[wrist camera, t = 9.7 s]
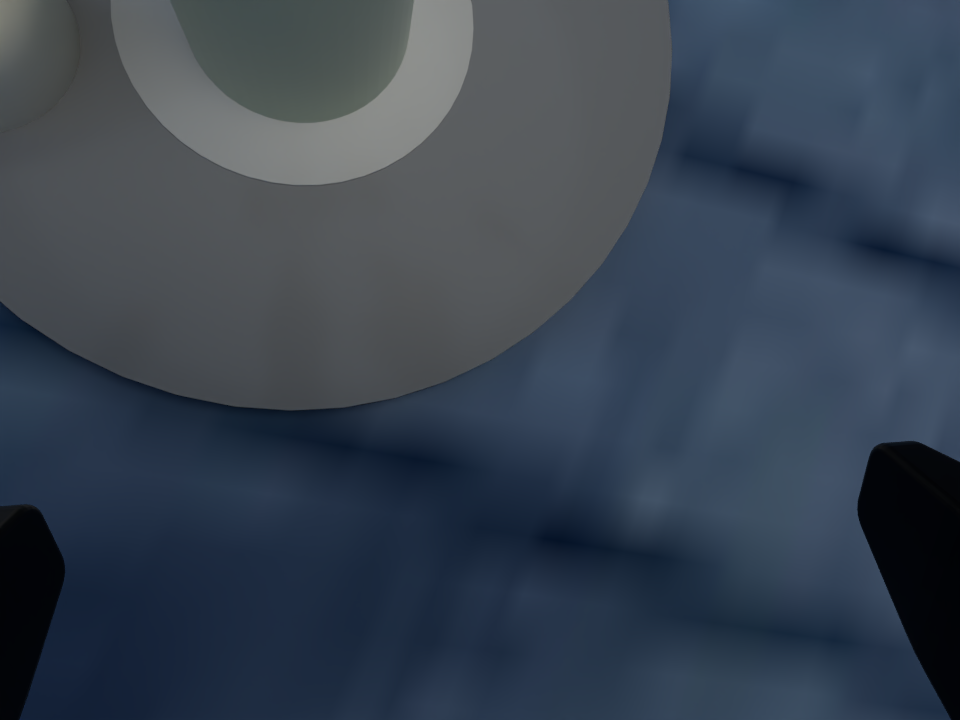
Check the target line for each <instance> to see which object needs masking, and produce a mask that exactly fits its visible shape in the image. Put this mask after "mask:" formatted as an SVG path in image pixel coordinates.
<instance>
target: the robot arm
mask: <svg viewBox="0 0 960 720" xmlns="http://www.w3.org/2000/svg"><path fill="white" fill-rule="evenodd" d="M857 510H858V517H859V521H860V524H861V527H862V529H863V532H864V534H865V537H866V539H867V541H868V544H869V546H870V549H871V551H872V553H873V556H874V558H875V560H876V563H877V565H878V568H879V570H880V572H881V575H882V577H883V580H884V582H885V584H886V587H887V589H888V592H889V594H890V596H891V599H892V601H893V603H894V606H895V608H896V611H897V613H898V615H899V618H900V620H901V623H902V625H903V627H904V630H905V632H906V634H907V636H908V639H909V641H910V643H911V645H912V647H913V650H914V652H915V654H916V656H917V657H918V659H919V661H920V663H921V665H922V667H923V669H924V671H925V673H926V675H927V677H928V678H929V680H930V682H931V684H932V686H933V688H934V689H935V691H936V693H937V695H938V697H939V698H940V700H941V702H942V704H943V706H944V708H945V709H946V711H947V713H948V715H949V717H950V718H951V720H960V462H959V461H957V460H955V459H953V458H951V457H949V456H946V455H944V454H942V453H940V452H938V451H936V450H934V449H932V448H930V447H928V446H926V445H924V444H922V443H919V442H915V441H904V442H890V443H881V444H879V445H876V446H875V447H874V448H873V450H872V451H871V453H870V456H869V460H868V463H867V467H866V471H865V475H864V479H863V483H862V487H861V491H860V494H859V498H858V508H857ZM64 576H65V565H64V560H63V557H62V554H61V552H60V550H59V548H58V546H57V544H56V542H55V540H54V538H53V536H52V534H51V531H50V529H49V527H48V525H47V523H46V521H45V519H44V517H43V515H42V513H41V512H40V510H38V509H37V508H36V507H34V506H32V505H27V504H25V505H11V506H0V720H19V718H20V716H21V713H22V710H23V707H24V705H25V702H26V699H27V696H28V693H29V690H30V687H31V684H32V681H33V677H34V674H35V671H36V668H37V665H38V662H39V658H40V655H41V652H42V649H43V646H44V643H45V639H46V636H47V633H48V630H49V627H50V624H51V620H52V617H53V614H54V611H55V608H56V605H57V601H58V598H59V595H60V592H61V589H62V586H63V582H64Z"/></svg>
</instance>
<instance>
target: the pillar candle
mask: <svg viewBox="0 0 960 720" xmlns="http://www.w3.org/2000/svg"><path fill="white" fill-rule="evenodd" d="M170 2H171V4H172V7H173V9H174V11H175V14H176V16H177V18H178V20H179V23H180V25H181V27H182V30H183V32H184V34H185V36H186V39H187V41H188V43H189V45H190V48H191V50H192V52H193V54H194V56H195V58H196V60H197V62H198V63H199V65H200V66H201V68H202V69H203V71H204V72H205V74H206V75H207V76H208V77H209V79H210V80H211V81H212V82H213V83H214V84H215V86H217V87H218V88H219V89H220V90H221V91H222V92H223V93H224V94H226V95H227V96H228V97H229V98H231V99H232V100H234V101H235V102H237V103H238V104H239V105H241V106H243V107H245V108H247V109H249V110H251V111H253V112H255V113H258V114H260V115H263V116H265V117H268V118H272V119H276V120H280V121H286V122H295V123H315V122H323V121H329V120H333V119H336V118H340V117H343V116H345V115H348V114H350V113H353V112H355V111H357V110H359V109H360V108H362V107H364V106H365V105H367V104H368V103H370V102H371V101H372V100H374V99H375V98H376V97H377V96H378V95H379V94H380V93H381V92H382V91H383V90H384V89H385V88H386V87H387V86H388V85H389V83H390V82H391V81H392V79H393V78H394V76H395V75H396V73H397V71H398V69H399V67H400V66H401V64H402V61H403V58H404V55H405V53H406V49H407V44H408V39H409V33H410V26H411V19H412V12H413V5H414V0H170Z"/></svg>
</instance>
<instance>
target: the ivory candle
mask: <svg viewBox="0 0 960 720" xmlns="http://www.w3.org/2000/svg"><path fill="white" fill-rule="evenodd" d="M79 57H80V35H79V29H78V25H77V22H76V19H75V16H74V14H73V12H72V10H71V7H70V5H69V4H68V2H67V1H66V0H0V132H4V131H9V130H13V129H16V128H19V127H21V126H24V125H26V124H28V123H30V122H32V121H34V120H36V119H38V118H39V117H41V116H42V115H44V114H45V113H47V112H48V111H49V110H50V109H51V108H52V107H53V106H55V105H56V104H57V103H58V101H59V100H60V99H61V98H62V97H63V96H64V94H65V93H66V91H67V90H68V88H69V86H70V85H71V83H72V81H73V78H74V76H75V74H76V71H77V67H78V63H79Z"/></svg>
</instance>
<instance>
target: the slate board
mask: <svg viewBox="0 0 960 720" xmlns="http://www.w3.org/2000/svg"><path fill="white" fill-rule="evenodd" d="M66 1H67V2H68V4H69V5H70V7H71V10H72V12H73V14H74V16H75V19H76V22H77V25H78V29H79V35H80V57H79V63H78V67H77V71H76V74H75V76H74V78H73V81H72V83H71V85H70V86H69V88H68V90H67V91H66V93H65V94H64V96H63V97H62V98H61V99H60V100H59V101H58V103H57V104H56V105H55V106H53V107H52V108H51V109H50V110H49V111H48V112H47V113H45V114H44V115H42V116H41V117H39V118H38V119H36V120H34V121H32V122H30V123H28V124H26V125H24V126H21V127H19V128H16V129H13V130H9V131H4V132H0V301H1V302H2V303H3V304H4V305H5V306H6V307H7V308H9V309H10V310H11V311H12V312H13V313H14V314H16V315H17V316H18V317H19V318H20V319H22V320H23V321H25V322H26V323H28V324H29V325H31V326H32V327H34V328H35V329H37V330H38V331H40V332H41V333H43V334H45V335H46V336H48V337H49V338H51V339H52V340H54V341H55V342H57V343H58V344H60V345H61V346H63V347H64V348H66V349H67V350H69V351H71V352H73V353H75V354H77V355H79V356H81V357H83V358H85V359H87V360H89V361H91V362H93V363H95V364H97V365H100V366H102V367H104V368H106V369H108V370H110V371H112V372H114V373H116V374H118V375H120V376H122V377H125V378H128V379H131V380H134V381H137V382H140V383H143V384H146V385H149V386H152V387H155V388H158V389H161V390H164V391H167V392H170V393H173V394H176V395H180V396H185V397H190V398H195V399H200V400H205V401H209V402H214V403H219V404H224V405H229V406H235V407H246V408H260V409H274V410H288V411H301V410H318V409H336V408H347V407H353V406H358V405H363V404H369V403H374V402H379V401H385V400H390V399H395V398H398V397H401V396H404V395H407V394H410V393H413V392H416V391H419V390H422V389H425V388H428V387H432V386H435V385H438V384H441V383H443V382H445V381H448V380H450V379H452V378H454V377H456V376H458V375H460V374H462V373H464V372H466V371H468V370H471V369H473V368H475V367H477V366H479V365H481V364H483V363H485V362H487V361H489V360H491V359H493V358H495V357H496V356H498V355H499V354H501V353H502V352H504V351H505V350H507V349H508V348H510V347H511V346H513V345H515V344H516V343H518V342H519V341H521V340H522V339H524V338H525V337H527V336H528V335H530V334H531V333H533V332H534V331H535V330H537V329H538V328H539V327H540V326H541V325H542V324H543V323H545V322H546V321H547V320H548V319H549V318H550V317H551V316H553V315H554V314H555V313H556V312H557V311H558V310H560V309H561V308H562V307H563V306H564V305H565V304H566V303H568V302H569V301H570V300H571V299H572V298H573V297H574V295H575V294H576V293H577V292H578V291H579V290H580V289H581V287H582V286H583V285H584V284H585V283H586V282H587V281H588V279H589V278H590V277H591V276H592V275H593V274H594V273H595V271H596V270H597V269H598V268H599V267H600V266H601V265H602V263H603V262H604V260H605V259H606V257H607V256H608V254H609V253H610V251H611V250H612V248H613V247H614V245H615V243H616V242H617V240H618V239H619V237H620V236H621V234H622V233H623V231H624V230H625V228H626V227H627V225H628V223H629V221H630V219H631V217H632V215H633V213H634V211H635V209H636V207H637V205H638V202H639V200H640V198H641V196H642V194H643V192H644V190H645V188H646V186H647V184H648V181H649V178H650V175H651V171H652V168H653V165H654V162H655V159H656V156H657V153H658V150H659V147H660V144H661V140H662V135H663V130H664V124H665V119H666V113H667V108H668V102H669V97H670V81H671V60H672V43H671V30H670V18H669V5H668V0H414V5H413V12H412V19H411V26H410V33H409V39H408V44H407V49H406V53H405V55H404V58H403V61H402V64H401V66H400V67H399V69H398V71H397V73H396V75H395V76H394V78H393V79H392V81H391V82H390V83H389V85H388V86H387V87H386V88H385V89H384V90H383V91H382V92H381V93H380V94H379V95H378V96H377V97H376V98H375V99H374V100H372V101H371V102H370V103H368V104H367V105H365V106H364V107H362V108H360V109H359V110H357V111H355V112H353V113H350V114H348V115H345V116H343V117H340V118H336V119H333V120H329V121H323V122H315V123H295V122H286V121H280V120H276V119H272V118H268V117H265V116H263V115H260V114H258V113H255V112H253V111H251V110H249V109H247V108H245V107H243V106H241V105H239V104H238V103H237V102H235V101H234V100H232V99H231V98H229V97H228V96H227V95H226V94H224V93H223V92H222V91H221V90H220V89H219V88H218V87H217V86H215V84H214V83H213V82H212V81H211V80H210V79H209V77H208V76H207V75H206V74H205V72H204V71H203V69H202V68H201V66H200V65H199V63H198V62H197V60H196V58H195V56H194V54H193V52H192V50H191V48H190V45H189V43H188V41H187V39H186V36H185V34H184V32H183V30H182V27H181V25H180V23H179V20H178V18H177V16H176V14H175V11H174V9H173V7H172V4H171V2H170V0H66Z"/></svg>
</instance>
